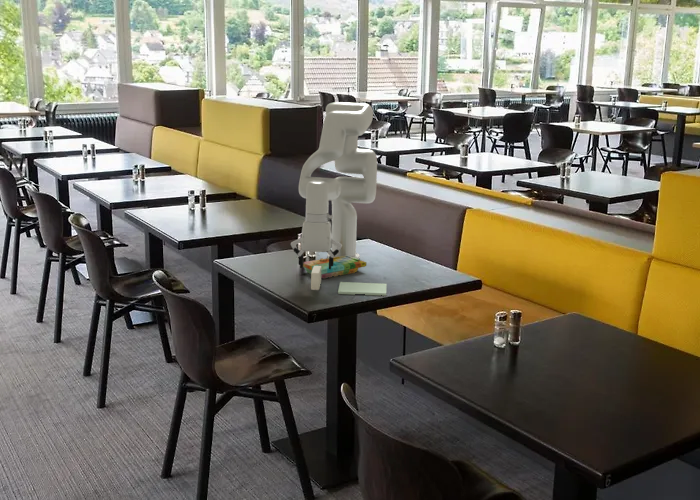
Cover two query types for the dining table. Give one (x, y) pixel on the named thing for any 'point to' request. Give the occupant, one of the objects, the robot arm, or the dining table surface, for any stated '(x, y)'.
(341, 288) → the mat
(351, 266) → the puzzle game
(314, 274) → the card box
